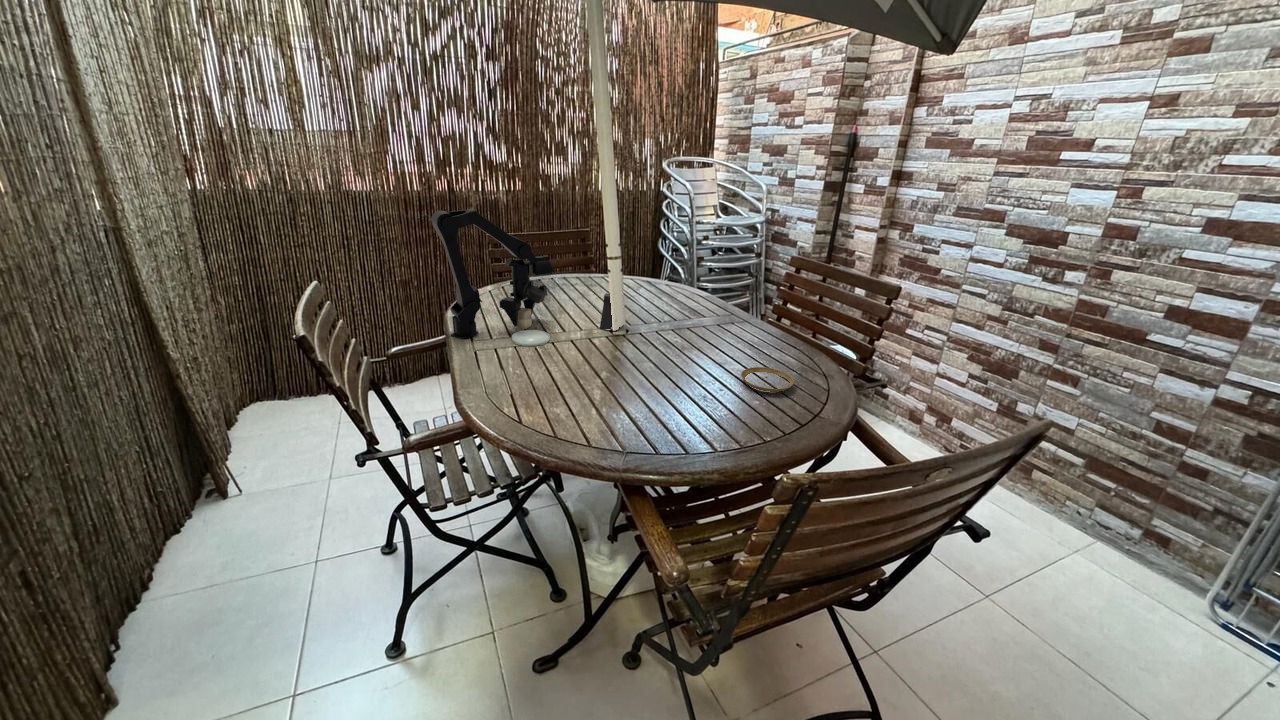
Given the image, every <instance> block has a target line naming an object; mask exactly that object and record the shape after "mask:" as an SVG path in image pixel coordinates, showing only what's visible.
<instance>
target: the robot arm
mask: <svg viewBox="0 0 1280 720" xmlns="http://www.w3.org/2000/svg"><path fill="white" fill-rule="evenodd" d="M430 220H431V224H432V226H433V228H434V230H435V232H436V234H437V235H438V238H439V239H440V240H441V242H442V244H443V247H444V248H443V249H444V250H445V254H446V257H447V260H448V263H449V267H450V269H451V273H452V276H453V279H454V284H455V298H456V301H455V302H454V304H452V305H451V307H450V309H449V310H450V312H451V313H452V315H453V316H452V317H451V318H452V328H453V333H450V337H454V336H455V338H458V339H459V338H460V339H465V340H469V339H470V338H472V337H474V336H476V335H478V334H479V331H478V330H477V322H476V321H475V319H476V316H477V313H478V312H479V311H480V309H481V305H482V304H481V303H483V301H482V299H481V297H480V291H479V289H478V288H476V287H475V286H474V285H471V282H470V279H469V275H468V273H467V269H466V265H465V263H464V259H463V256H462V252H461V250H460V245H459V242H458V240H459V230H458V229H461V228H464V227H467V226H470V225H473V226H475V228H476V227H477V228H478V229H480V230H481V231H483V232H484V233H485V234H487V235H489V236H490V237H491V238H493V239H494V240H496V241H497V242H499V243H500V244H501V245H502V247H504V249H505V250H506V251H508V252H509V254H511V255H512V256H513V257H516V258H518V259H514V258H512V257H509V258H508V260H507V261H505V263H504V264H505V265H506V266H508V267H511V279H512V280H510V281H509V285H512V292H510V295H509V296H506V297H504V298H502V299H500V300H499V301H498V302H499V304H498V305H499V308H500V309H501V310H504V312H505V313H506V315H507V316H508V318H509V319H510V321H511V324H512V325H513V327H514V326H517V322H518V312H519V311H520V310H521V309H522V308H527V309H531V317H532V315H533V312H534V308H535V306H536V304H541V303H542V302H544V301H545V299H546V297H547V296H548V289H547V288H548V287H547V286H546V285H544V284H542V285H540V286H535V285H534V282H533V280H531V277H530V275H532V276H533V277H535V278H536V277H537V278H538V277H544V276H545V277H546V276H547V277H548V276H551V275H552V273H553V266H552V262H551V261H550V256H549V255H547V254H544V255H541V256H540V255H539V256H535V254H534V253H533V252H532V246H531V245H530V244H529V243H528V242H526V241H524V240H522V239H519V238H517V237H516V236H513V235H511V234H509V233H508V232H506V231H505V230H503V229H502V228H500V227H499V226H497V224H494V223H493V222H491V221H490V220H489V219H487V218H486V217H484V216H483V215H481V214H480V212H479V211H477V210H475V209H473V208H468V209H463V210H462V209H461V210H453V211H445V210H437V211H435V212H434V213H433V214H432V216H431V218H430ZM522 303H523V307H522ZM520 307H521V308H520Z"/></svg>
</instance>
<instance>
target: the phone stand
mask: <svg viewBox="0 0 1280 720" xmlns="http://www.w3.org/2000/svg"><path fill="white" fill-rule="evenodd" d="M610 294H611V293H604V295H603V306H602V310H601V311H602V312H601V318H600V325H599V330H600V329H611V327H612V315H611V303H610Z"/></svg>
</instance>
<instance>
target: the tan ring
mask: <svg viewBox="0 0 1280 720" xmlns="http://www.w3.org/2000/svg"><path fill="white" fill-rule="evenodd" d="M754 372H767V373H773V374H776V375H779V376H781V377H784V378H786V379H787V380H788V381H789V382H790V386H789V387H786V388H781V389H770V388H764V387H759V386H756V385H753V384H751V383H749V382H747V381H746V380H745V377H746V376H747V375H748V374H750V373H754ZM740 376H741V379H742V381H743V382H745V384H746V385H747V384H748V385H749V386H751V387H753V388H756V389H759V390H763V391H770V392H778V391H783V392H784V390H785V391H786V389H787V390H788V389H790V388H791V387H792V386H793V385H794V382H795V381H794V379H793V377H792V376H791V375H789V374H788V373H786V372H784V371H781V370H778V369H775V368H771V367H765V366H756V367H755V366H754V367H749V368H748V367H747V368H746V369H743V370H742V371H741V373H740ZM748 385H747V386H748ZM749 386H748V387H749Z"/></svg>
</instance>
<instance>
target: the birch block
mask: <svg viewBox="0 0 1280 720" xmlns="http://www.w3.org/2000/svg"><path fill="white" fill-rule="evenodd" d="M520 308H522V309H521V310H520V311H519V312H518V322H517V326H514V325H513V328H515V327H516V329H521V328H522V329H521V330H527V329H528V328H529V326H530V327H532V326H531V325H533V323H532V318H533V317H532V316H531V309H527V308H525V307H522V306H521V307H520Z"/></svg>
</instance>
